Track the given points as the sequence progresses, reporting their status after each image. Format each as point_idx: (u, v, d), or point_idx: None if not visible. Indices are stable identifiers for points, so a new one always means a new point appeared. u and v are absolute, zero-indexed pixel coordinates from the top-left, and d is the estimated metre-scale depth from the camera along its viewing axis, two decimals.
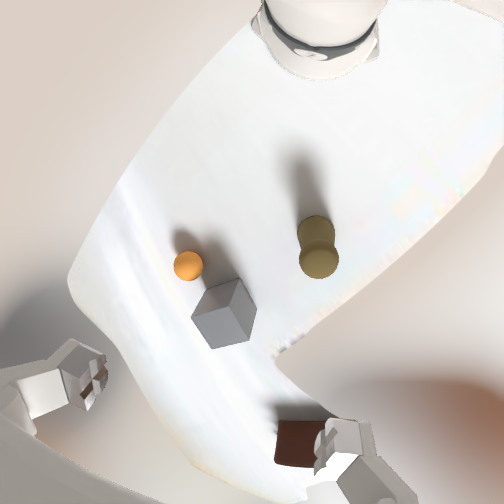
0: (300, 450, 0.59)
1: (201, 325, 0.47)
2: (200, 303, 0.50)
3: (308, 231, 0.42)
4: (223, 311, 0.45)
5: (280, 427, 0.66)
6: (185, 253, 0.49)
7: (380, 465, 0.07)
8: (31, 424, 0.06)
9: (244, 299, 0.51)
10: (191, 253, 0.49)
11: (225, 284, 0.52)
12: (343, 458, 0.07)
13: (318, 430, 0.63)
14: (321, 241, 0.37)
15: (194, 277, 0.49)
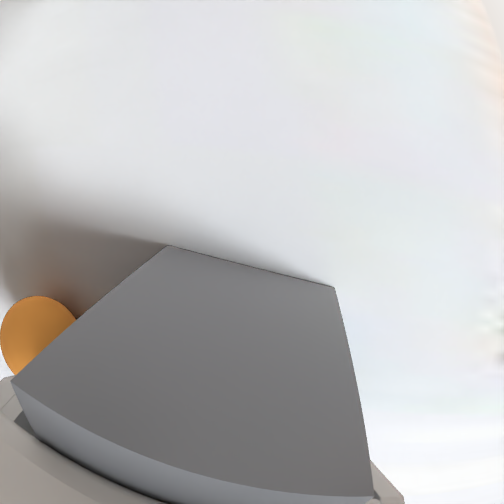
0: None
1: None
2: None
3: None
4: (46, 430, 0.04)
5: None
6: None
7: None
8: None
9: (218, 293, 0.09)
10: None
11: None
12: None
13: None
14: None
15: None
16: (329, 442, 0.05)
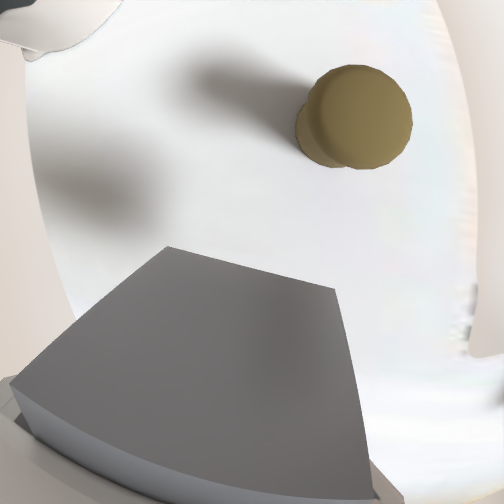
0: None
1: None
2: None
3: (304, 120, 0.17)
4: (45, 433, 0.04)
5: None
6: None
7: None
8: None
9: (217, 295, 0.09)
10: None
11: None
12: None
13: None
14: (318, 79, 0.12)
15: None
16: (329, 445, 0.05)
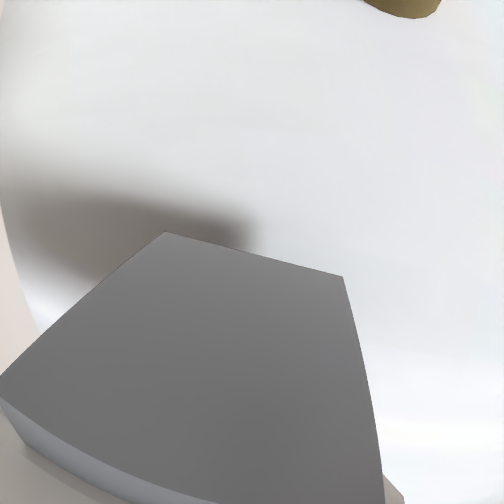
0: None
1: None
2: None
3: None
4: (32, 439, 0.04)
5: None
6: None
7: None
8: None
9: (217, 284, 0.09)
10: None
11: None
12: None
13: None
14: None
15: None
16: (338, 456, 0.04)
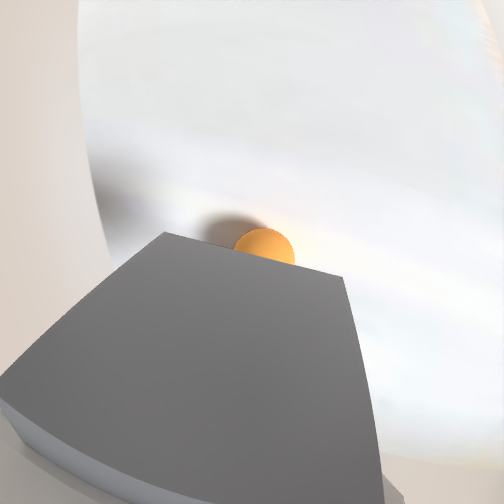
0: None
1: None
2: None
3: None
4: (31, 439, 0.04)
5: None
6: None
7: None
8: None
9: (217, 284, 0.09)
10: None
11: None
12: None
13: None
14: None
15: None
16: (338, 457, 0.04)
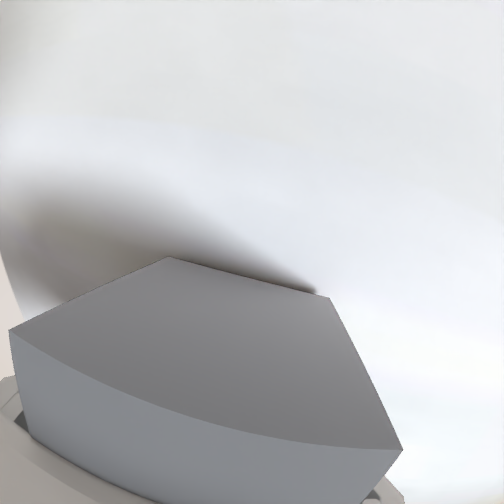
0: None
1: None
2: None
3: None
4: (37, 395, 0.04)
5: None
6: None
7: None
8: None
9: (220, 291, 0.10)
10: None
11: None
12: None
13: None
14: None
15: None
16: (345, 402, 0.05)
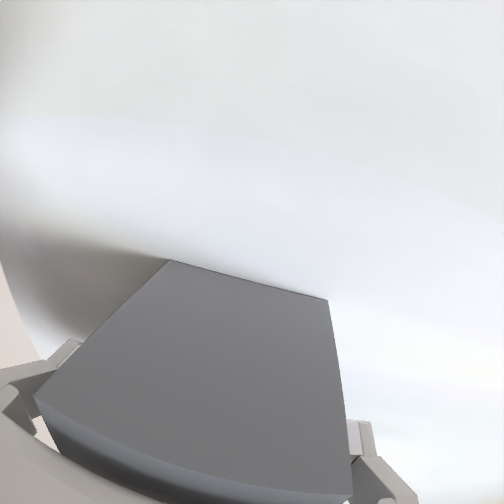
0: None
1: None
2: None
3: None
4: (66, 437, 0.05)
5: None
6: None
7: (380, 465, 0.07)
8: (31, 424, 0.06)
9: (218, 308, 0.10)
10: None
11: None
12: None
13: None
14: None
15: None
16: (315, 446, 0.05)
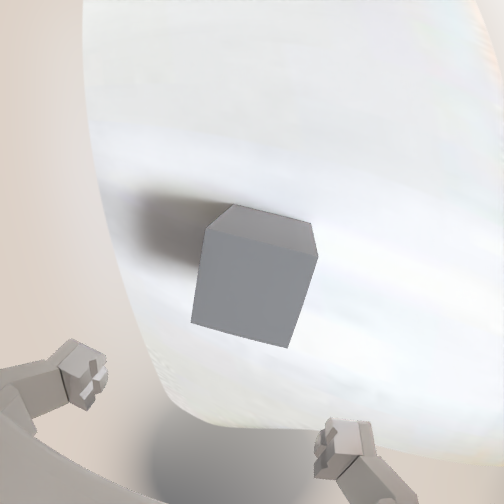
0: None
1: (219, 319, 0.20)
2: None
3: None
4: (212, 248, 0.19)
5: None
6: None
7: (380, 465, 0.07)
8: (31, 424, 0.06)
9: (262, 218, 0.24)
10: None
11: None
12: (343, 458, 0.07)
13: None
14: None
15: None
16: (304, 246, 0.19)
